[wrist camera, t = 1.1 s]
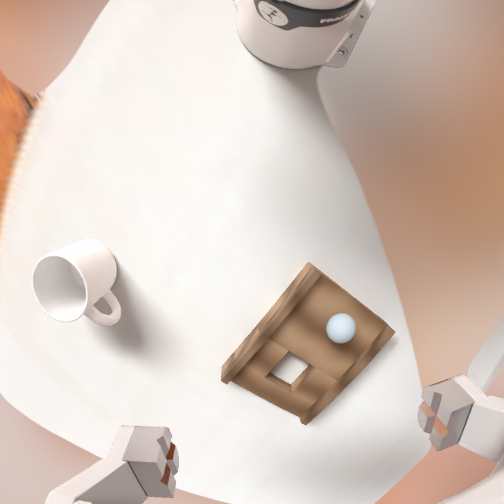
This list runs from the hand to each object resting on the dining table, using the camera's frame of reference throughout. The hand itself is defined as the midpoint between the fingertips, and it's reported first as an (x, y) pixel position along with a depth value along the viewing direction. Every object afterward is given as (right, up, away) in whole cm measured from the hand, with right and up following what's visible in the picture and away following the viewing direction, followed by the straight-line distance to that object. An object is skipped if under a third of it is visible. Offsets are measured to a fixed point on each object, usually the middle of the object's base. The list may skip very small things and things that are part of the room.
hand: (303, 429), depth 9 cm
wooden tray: (+6, -8, +37) cm, 39 cm away
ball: (+10, -4, +34) cm, 36 cm away
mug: (-23, +2, +34) cm, 41 cm away
